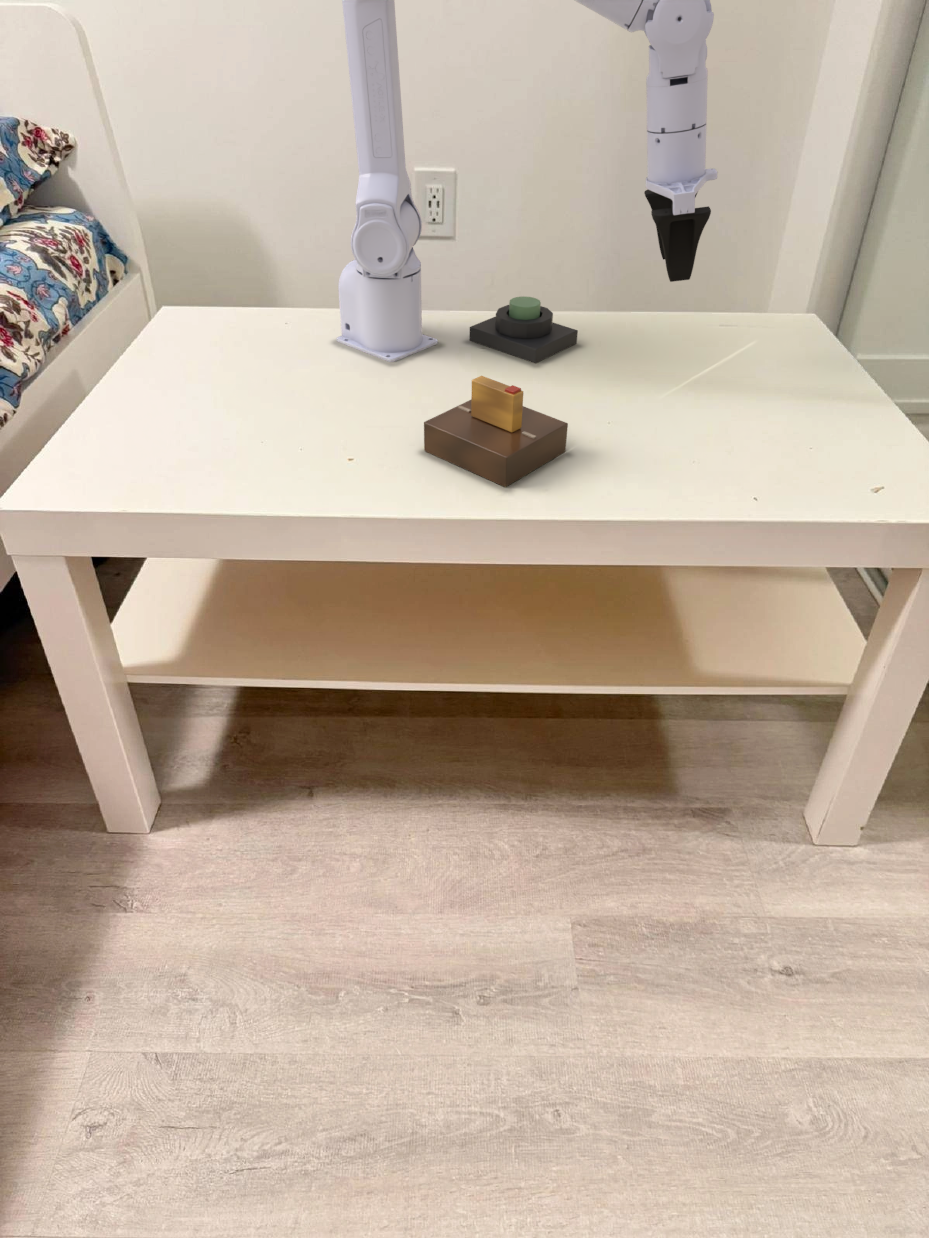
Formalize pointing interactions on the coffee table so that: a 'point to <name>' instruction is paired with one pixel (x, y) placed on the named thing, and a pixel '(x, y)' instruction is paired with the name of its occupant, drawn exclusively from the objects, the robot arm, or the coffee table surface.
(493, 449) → the plate
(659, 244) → the robot arm
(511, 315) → the button
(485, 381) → the block
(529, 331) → the push button base
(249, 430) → the coffee table surface
